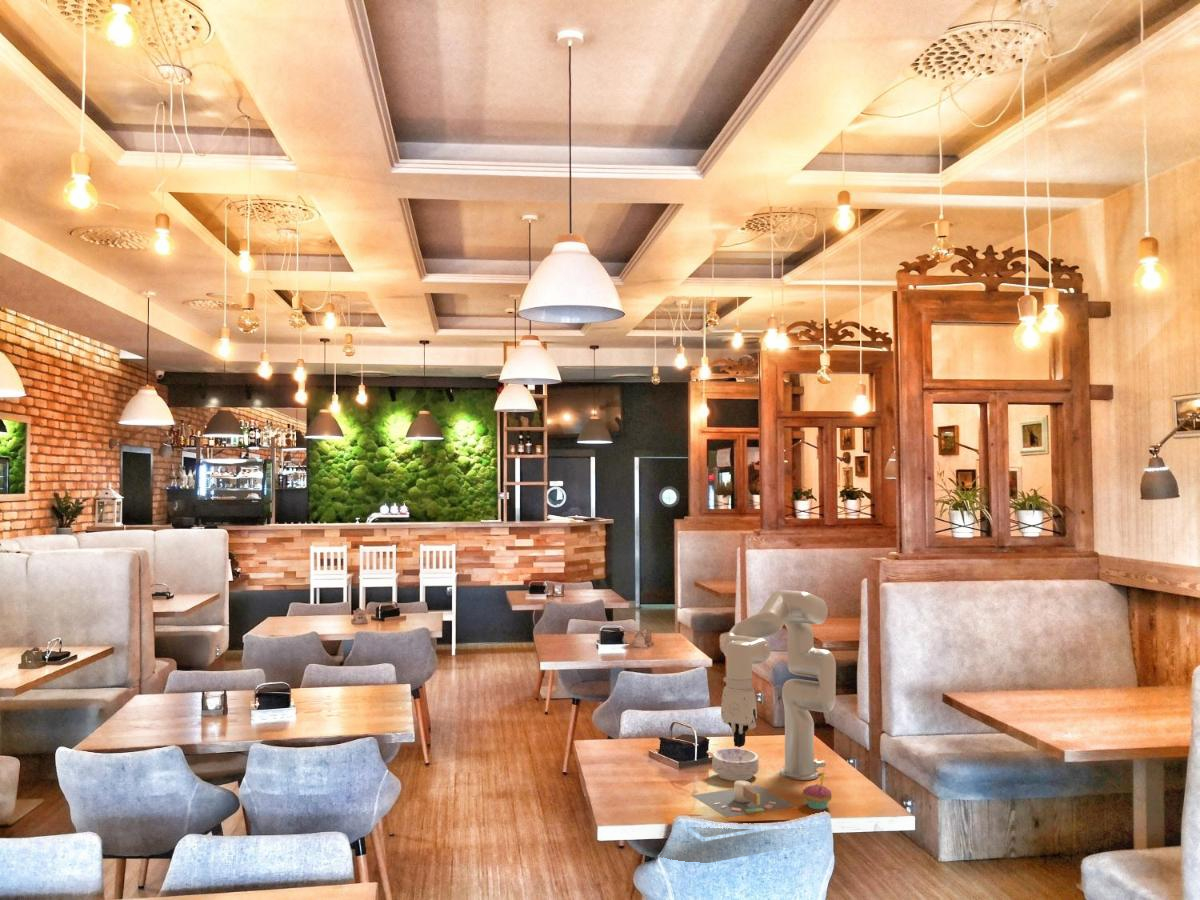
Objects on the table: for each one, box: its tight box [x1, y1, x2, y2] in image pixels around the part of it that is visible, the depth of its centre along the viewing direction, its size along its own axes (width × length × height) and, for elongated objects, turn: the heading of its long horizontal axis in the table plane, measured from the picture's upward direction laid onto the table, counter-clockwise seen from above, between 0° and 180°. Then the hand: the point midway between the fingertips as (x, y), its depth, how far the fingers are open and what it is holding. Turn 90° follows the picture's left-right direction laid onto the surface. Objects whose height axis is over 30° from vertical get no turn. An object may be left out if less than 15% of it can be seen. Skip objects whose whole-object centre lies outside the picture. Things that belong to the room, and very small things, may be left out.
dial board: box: [691, 785, 795, 818], centre depth 281 cm, size 24×20×1 cm
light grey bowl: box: [711, 747, 760, 782], centre depth 305 cm, size 15×15×8 cm
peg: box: [733, 780, 760, 805], centre depth 277 cm, size 13×5×5 cm, turn 19°
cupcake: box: [802, 769, 833, 810], centre depth 277 cm, size 9×8×12 cm
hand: (739, 745), depth 273 cm, fingers closed
